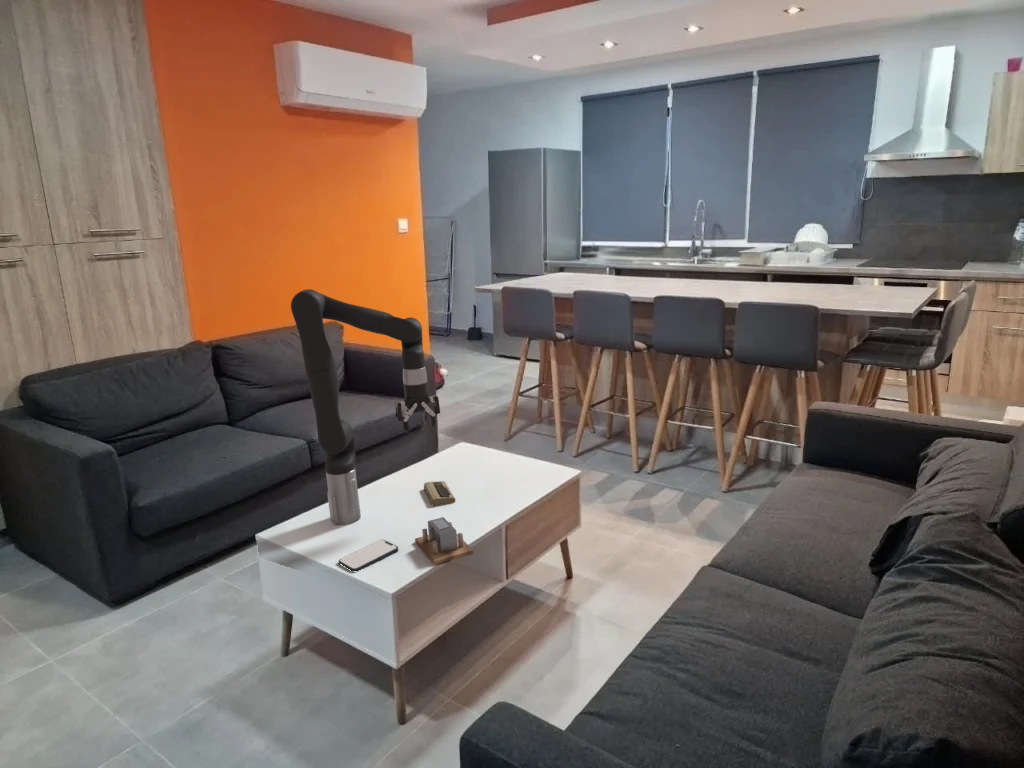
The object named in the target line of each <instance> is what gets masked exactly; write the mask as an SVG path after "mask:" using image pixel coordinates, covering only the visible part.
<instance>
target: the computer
mask: <svg viewBox="0 0 1024 768" xmlns="http://www.w3.org/2000/svg"><path fill="white" fill-rule="evenodd" d="M423 490H424V491H425V493H426V496H427V498H428V500H429V501H430V502H429V503H430V504H431V505H432V507H437V506H441V505H443V506H444V505H448V504H454V503H455V502H456V498H455V497H454V494H453V492H452V491H451V489H450V488H449V486H448V484H447V482H446V481H444V480H440V481H426V482H424V484H423Z"/></svg>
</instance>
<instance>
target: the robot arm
mask: <svg viewBox="0 0 1024 768" xmlns="http://www.w3.org/2000/svg"><path fill="white" fill-rule="evenodd" d="M290 310H291V313H292V317H293V319H294V322H295V325H296V329H297V332H298V335H299V339H300V343H301V351H302V356H303V357H302V358H303V363H304V370H305V374H306V378H307V379H306V380H307V384H308V387H309V392H310V395H311V400H312V406H313V408H314V412H315V420H316V429H317V430H316V431H317V438H318V439H317V440H318V443H319V446H320V447H321V449H322V451H324V452H325V453H326V457H325V463H324V468H325V477H326V483H327V484H326V485H327V491H326V493H327V501H328V509H329V517H330V520H331V522H332V523H333V525H334V526H337V525H349V524H353V523H356V522H357V521H359V520H360V519H361V515H362V514H361V506H360V498H359V490H358V482H357V481H358V480H357V473H356V462H355V461H356V446H355V445H356V443H355V434H354V430H353V428H352V426H351V423H349V422H348V421H346V420H345V419H341V416H340V411H339V395H340V380H339V373H338V370H337V369H338V368H337V363H336V360H335V357H334V354H333V352H332V350H331V347H330V345H329V342H328V340H327V337H326V334H325V333H326V331H325V328H324V326H325V325H324V320H331V321H336V322H339V323H343V324H346V325H349V326H351V327H354V328H356V329H359V330H362V331H366V332H370V333H373V334H377V335H383V336H387V337H390V338H391V339H395V340H397V341H400V342H401V351H402V352H401V363H402V382H403V392H404V400H403V401H398V400H396V401H395V403H394V406H395V407H394V408H395V419H396V420H397V421H399V422H401V424H402V431H404V432H405V433H407V434H408V433H409V432H410V430H409V429H410V428H409V421H408V420H409V419H410V417H412V415H413V413H414V414H416V413H419V412H421V413H423V412H424V411H425V412H427V413H428V414H429V415H428V421H429V422H428V423H429V427H430V428H431V429H433V428H435V426H436V416H437V415H438V414H440V413H441V407H440V400H439V396H438V395H436V394H432V395H431V396H429V387H428V376H427V369H426V361H425V352H424V348H423V345H424V343H423V326H422V324H421V322H420V321H419V320H418V319H417V318H415V317H406V318H401V317H398V316H394V315H393V314H391V313H388V312H386V311H382V310H378V309H373V308H369V307H365V306H361V305H356V304H352V303H348V302H345V301H341V300H339V299H335V298H332V297H330V296H329V295H326V294H323V293H321V292H318V291H316V290H315V289H309V288H308V289H307V288H306V289H303V290H301V291H299V292H297V293H296V294H294V296H293V297H292V299H291V302H290ZM323 319H324V320H323ZM430 402H432V406H433V410H432V408H430V407H429V404H430ZM404 406H405V407H406V408H405V410H404V411H403V410H402V409H403V408H404ZM402 411H403V415H402Z"/></svg>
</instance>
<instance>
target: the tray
mask: <svg viewBox="0 0 1024 768" xmlns="http://www.w3.org/2000/svg"><path fill="white" fill-rule="evenodd" d="M448 522H449V523H450V524H451V525H452V526H453V522H452V521H448ZM421 532H422V536H419V537H416V538H414V542H415V544H416V545H417V546H418V548H419V549H420V550H421V551H422V552H423V553H424V555H425V556H426V557H427V559H429V561H430V562H431V564H432V565H433V566H437V565H439V564H444V563H446V562H450V561H453V560H457V559H460V558H464V557H467V556H471V555H474V549H473V548H472V547H470V546H469V544H468V543H467V542H465V540H464V533H463V532H458V533H457V532H456V535H457V548H458V549H456V550H452V551H449V552H445V553H442V554H441V553H440V551H439V550H438V544H437V540H433V541H432V542H431V541H430V540H429V534H428V528H422V531H421Z"/></svg>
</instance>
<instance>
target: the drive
mask: <svg viewBox="0 0 1024 768" xmlns="http://www.w3.org/2000/svg"><path fill="white" fill-rule="evenodd" d="M449 522H450V521H448V520H447V519H446V518H445V517H444V516H442V517H438V518H434V519H431V520H428V521H427V527H428V528H427V532H428V535H429V540H430V541H431V542H432V541H433V540H437V544H438V550H439V551H440V553H441V554H442V553H445V552H449V551H452V550H456V549H458V548H457V535H456V533H457V530H456V528H455V527H454V526H453V524H452V525H451V524H450V523H449Z"/></svg>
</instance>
